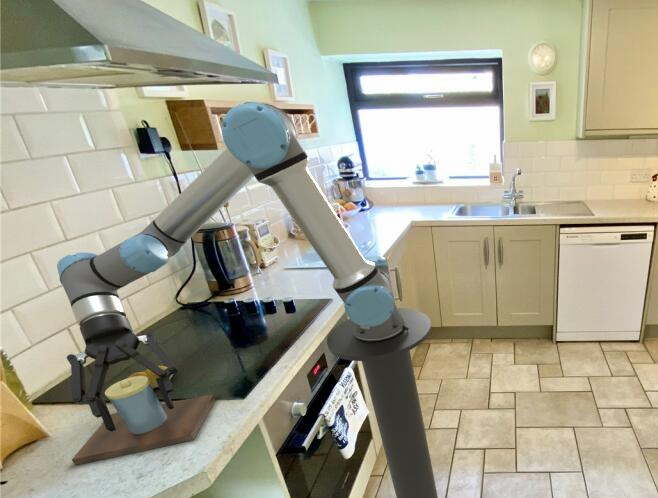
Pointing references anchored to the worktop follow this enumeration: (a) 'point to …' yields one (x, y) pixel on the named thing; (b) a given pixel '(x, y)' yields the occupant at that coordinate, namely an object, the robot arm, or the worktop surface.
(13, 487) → the worktop surface
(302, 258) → the worktop surface
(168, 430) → the board
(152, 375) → the bread roll
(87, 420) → the worktop surface
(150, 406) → the butter crock
